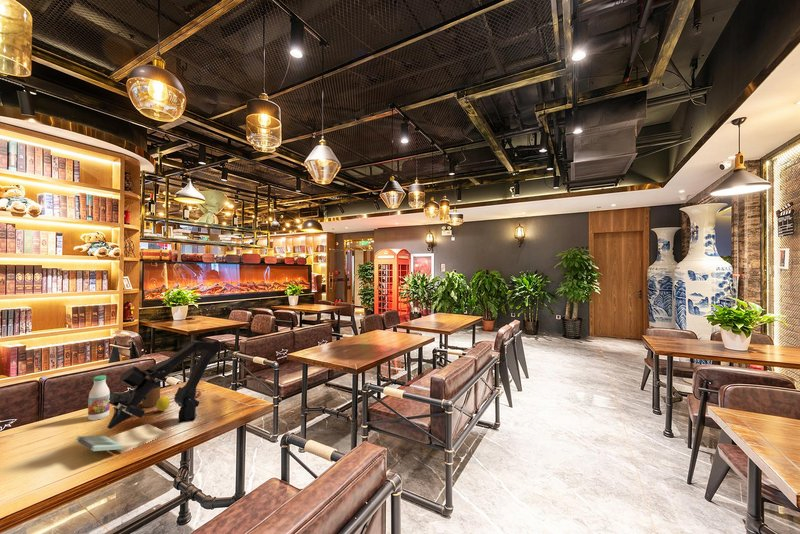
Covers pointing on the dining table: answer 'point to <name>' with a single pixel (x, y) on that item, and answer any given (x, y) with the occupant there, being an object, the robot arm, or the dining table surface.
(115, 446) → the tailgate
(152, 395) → the mug
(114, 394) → the robot arm
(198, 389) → the pretzel
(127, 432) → the beige flat square pad
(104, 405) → the milk bottle
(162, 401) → the lemon
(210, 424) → the dining table surface
